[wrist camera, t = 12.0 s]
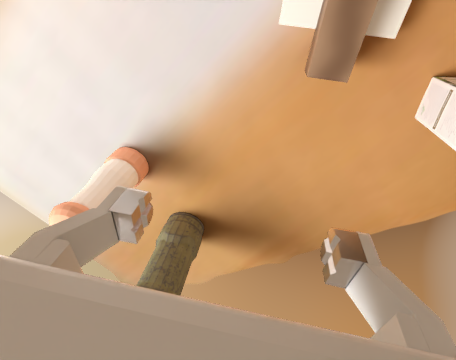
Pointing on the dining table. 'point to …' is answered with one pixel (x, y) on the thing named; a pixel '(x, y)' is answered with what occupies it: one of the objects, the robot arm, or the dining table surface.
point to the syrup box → (440, 109)
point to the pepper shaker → (104, 183)
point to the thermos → (173, 254)
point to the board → (379, 26)
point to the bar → (338, 38)
